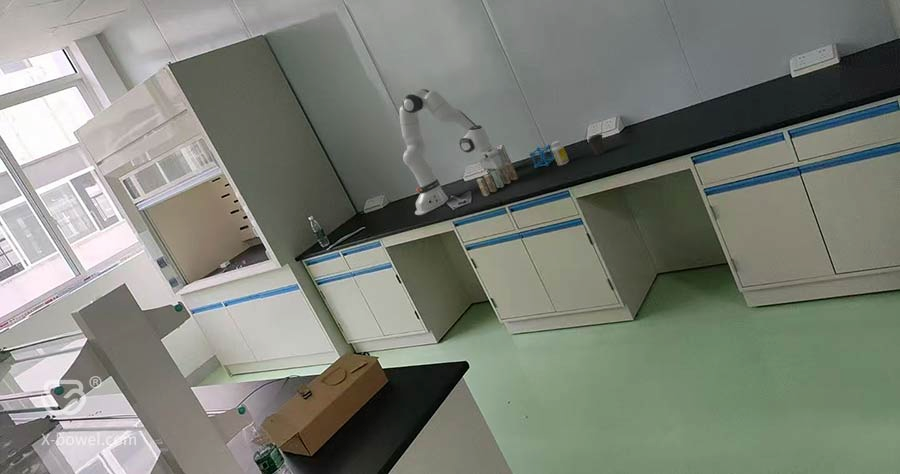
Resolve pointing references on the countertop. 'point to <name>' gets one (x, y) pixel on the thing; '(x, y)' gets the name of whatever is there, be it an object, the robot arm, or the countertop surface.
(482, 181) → the domino
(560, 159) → the supplement bottle
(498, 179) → the sage domino
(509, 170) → the domino
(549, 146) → the molecular structure
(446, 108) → the robot arm
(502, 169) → the domino
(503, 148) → the candy bar box
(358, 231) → the countertop surface
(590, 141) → the coffee cup
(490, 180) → the domino
